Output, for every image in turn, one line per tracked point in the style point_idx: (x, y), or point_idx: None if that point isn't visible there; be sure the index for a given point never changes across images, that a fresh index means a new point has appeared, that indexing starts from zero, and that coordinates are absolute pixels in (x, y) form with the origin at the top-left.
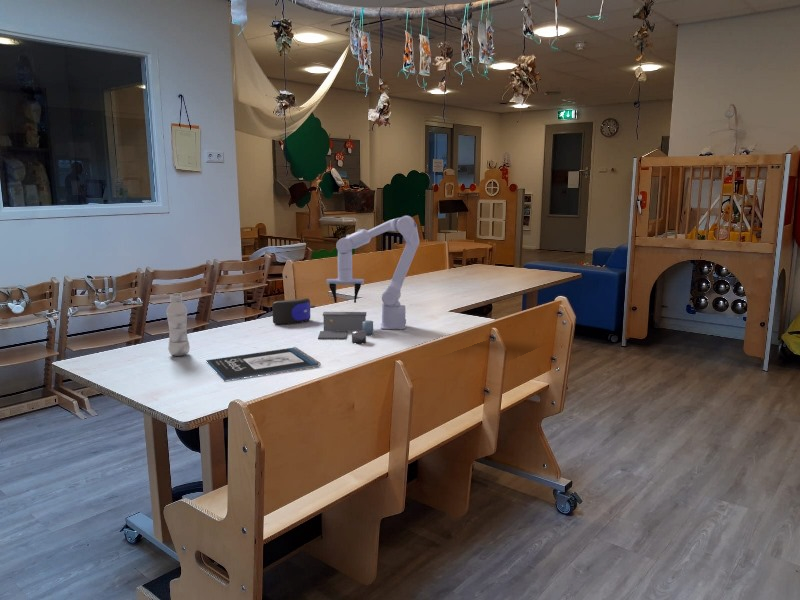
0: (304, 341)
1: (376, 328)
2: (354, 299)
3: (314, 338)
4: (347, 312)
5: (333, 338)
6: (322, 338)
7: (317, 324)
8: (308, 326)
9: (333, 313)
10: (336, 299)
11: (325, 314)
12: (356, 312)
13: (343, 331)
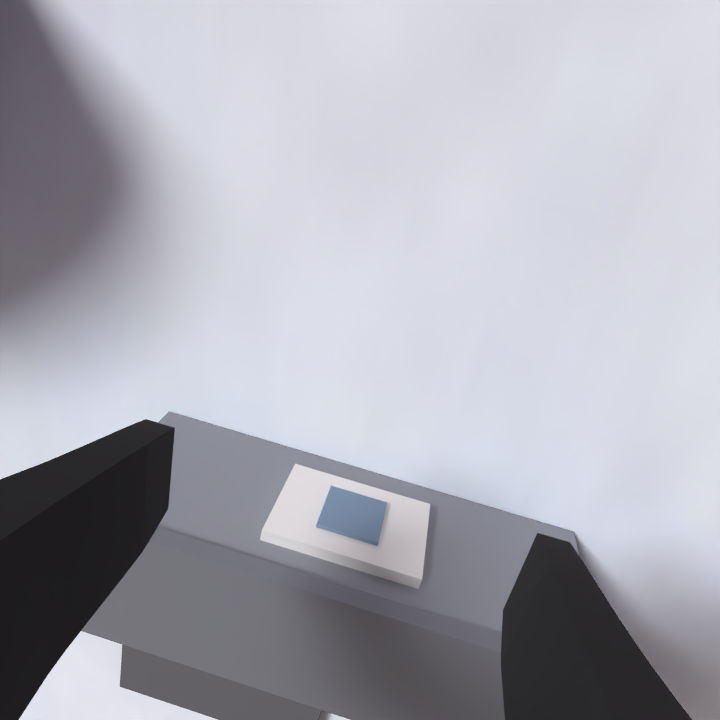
0: (47, 685)
1: (693, 556)
2: (508, 686)
3: (102, 651)
4: (354, 636)
5: (227, 716)
6: (153, 690)
7: (91, 212)
8: (10, 282)
9: (173, 626)
10: (141, 499)
11: (84, 628)
12: (475, 673)
13: None
